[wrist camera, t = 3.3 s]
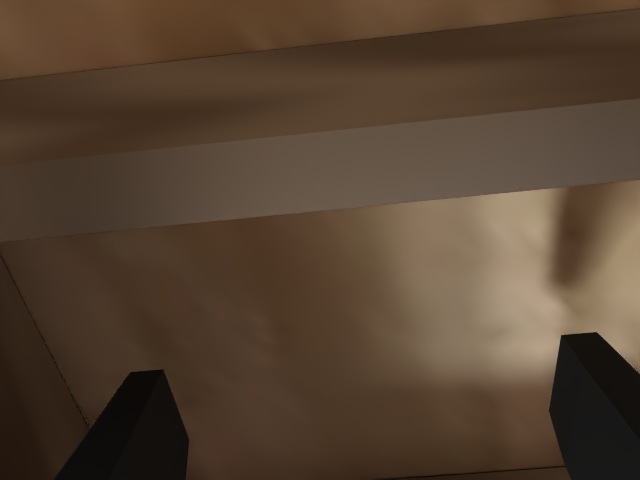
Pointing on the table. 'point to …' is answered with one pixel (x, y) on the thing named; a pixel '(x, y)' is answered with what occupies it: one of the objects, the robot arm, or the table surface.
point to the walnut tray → (297, 156)
